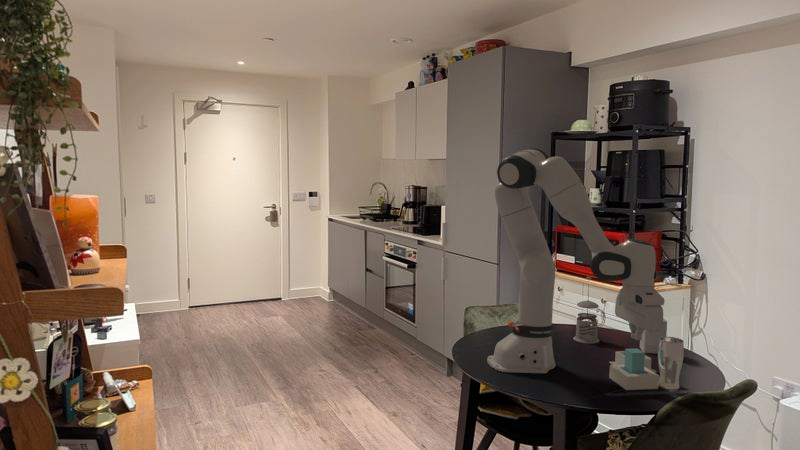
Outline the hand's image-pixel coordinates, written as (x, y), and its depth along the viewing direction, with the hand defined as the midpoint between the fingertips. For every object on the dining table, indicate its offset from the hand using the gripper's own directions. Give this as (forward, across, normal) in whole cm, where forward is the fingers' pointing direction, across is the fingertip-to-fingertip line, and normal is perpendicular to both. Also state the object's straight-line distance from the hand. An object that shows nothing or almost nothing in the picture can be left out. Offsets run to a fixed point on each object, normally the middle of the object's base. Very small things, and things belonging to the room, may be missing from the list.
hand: (636, 338), depth 167 cm
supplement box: (+15, -30, +25) cm, 42 cm away
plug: (+14, 0, 0) cm, 14 cm away
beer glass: (+15, +2, +10) cm, 18 cm away
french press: (+15, -47, +9) cm, 50 cm away
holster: (+15, -14, +8) cm, 22 cm away
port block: (+15, 0, 0) cm, 15 cm away
